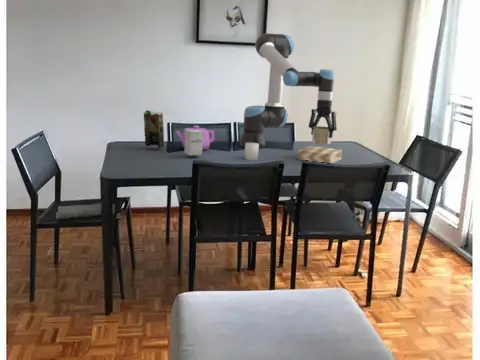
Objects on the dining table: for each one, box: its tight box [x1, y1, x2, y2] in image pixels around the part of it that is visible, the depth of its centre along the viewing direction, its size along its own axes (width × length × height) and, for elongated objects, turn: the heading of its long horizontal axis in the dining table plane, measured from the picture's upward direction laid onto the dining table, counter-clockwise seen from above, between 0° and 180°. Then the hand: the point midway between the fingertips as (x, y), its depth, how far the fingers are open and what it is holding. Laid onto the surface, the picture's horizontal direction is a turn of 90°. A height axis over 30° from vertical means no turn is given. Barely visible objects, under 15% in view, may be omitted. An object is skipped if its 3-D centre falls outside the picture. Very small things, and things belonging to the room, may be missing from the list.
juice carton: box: [143, 110, 165, 149], centre depth 314 cm, size 20×10×6 cm
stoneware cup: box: [244, 142, 260, 161], centre depth 296 cm, size 7×7×8 cm
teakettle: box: [175, 125, 215, 150], centre depth 320 cm, size 17×17×12 cm
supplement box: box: [184, 130, 203, 156], centre depth 300 cm, size 7×7×13 cm
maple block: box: [297, 145, 343, 164], centre depth 305 cm, size 18×18×5 cm
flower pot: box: [313, 125, 329, 146], centre depth 302 cm, size 9×9×9 cm
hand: (321, 142), depth 303 cm, fingers closed on flower pot, 8 cm apart
